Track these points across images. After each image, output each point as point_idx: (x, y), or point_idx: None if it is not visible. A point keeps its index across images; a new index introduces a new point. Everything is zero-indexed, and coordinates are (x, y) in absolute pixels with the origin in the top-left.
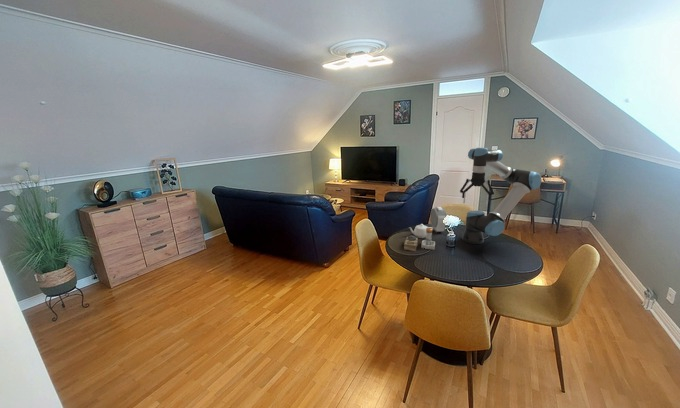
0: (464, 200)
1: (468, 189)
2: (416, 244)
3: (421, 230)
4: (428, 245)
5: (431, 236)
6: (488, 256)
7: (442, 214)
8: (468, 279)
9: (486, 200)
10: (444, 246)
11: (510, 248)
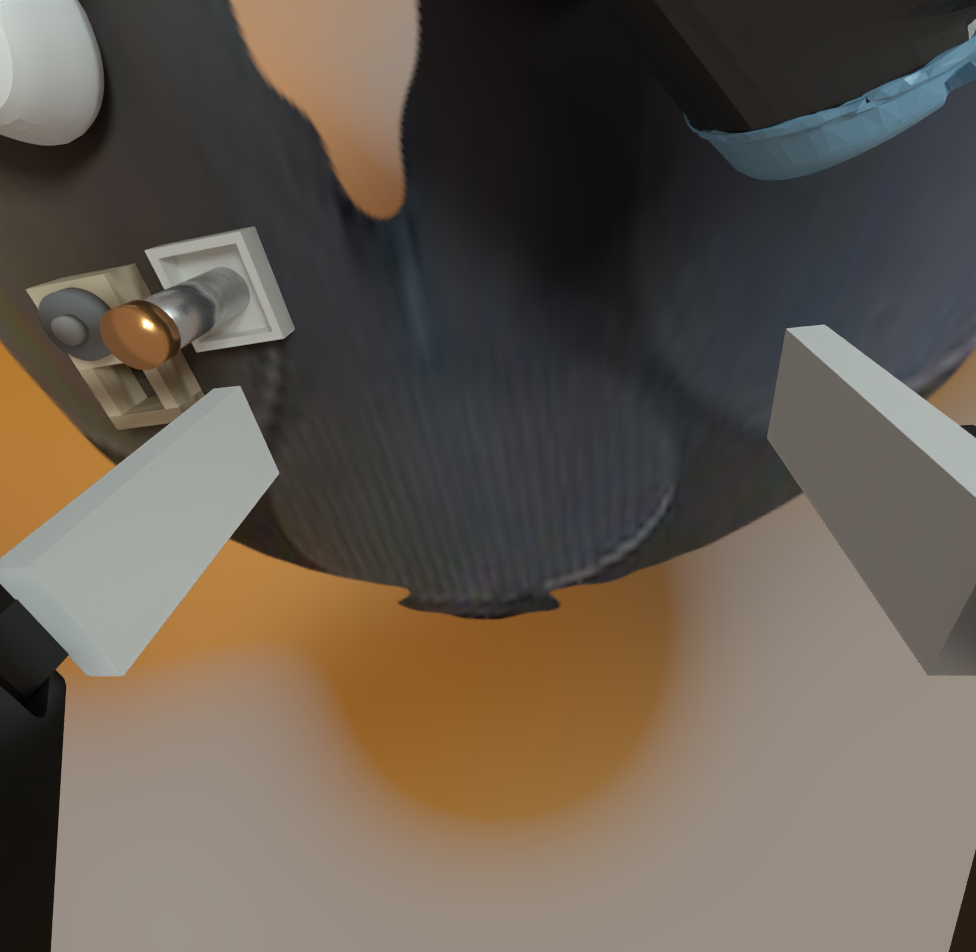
0: (234, 519)
1: (43, 891)
2: None
3: (10, 124)
4: (239, 339)
5: (202, 325)
6: (677, 263)
7: None
8: (550, 578)
9: (828, 440)
10: (331, 223)
11: None
